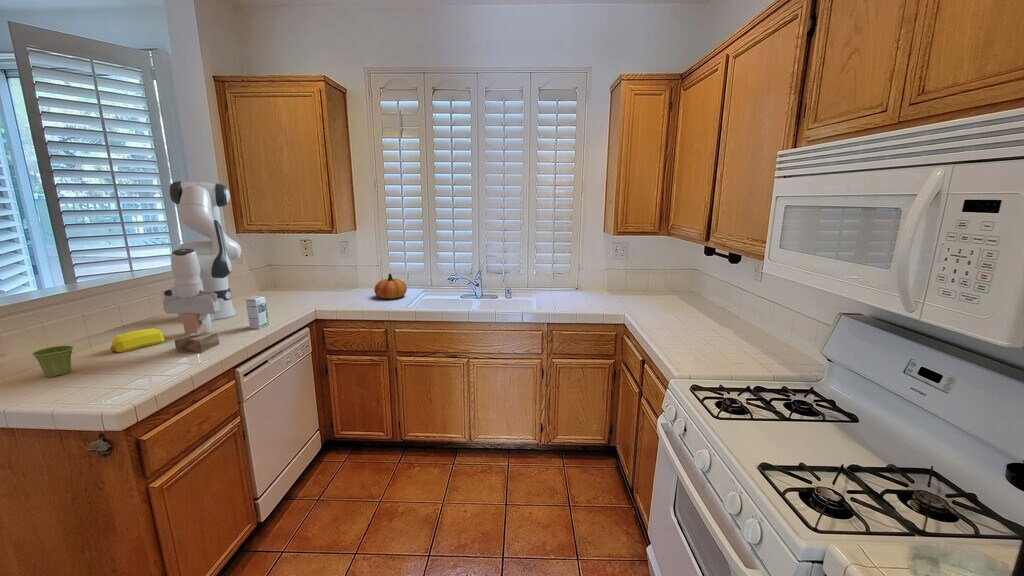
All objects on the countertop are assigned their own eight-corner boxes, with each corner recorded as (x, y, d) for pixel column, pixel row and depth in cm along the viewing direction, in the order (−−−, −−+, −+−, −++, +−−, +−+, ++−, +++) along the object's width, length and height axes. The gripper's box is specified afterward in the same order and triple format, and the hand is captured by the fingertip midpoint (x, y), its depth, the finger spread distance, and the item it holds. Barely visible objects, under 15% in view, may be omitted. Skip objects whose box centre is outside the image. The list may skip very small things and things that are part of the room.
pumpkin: (398, 292, 271) (396, 270, 268) (412, 297, 257) (411, 274, 254) (369, 296, 258) (368, 273, 255) (383, 302, 244) (382, 277, 241)
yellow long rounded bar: (170, 342, 174) (162, 339, 178) (168, 327, 173) (160, 324, 176) (114, 355, 159) (107, 351, 163) (111, 339, 157) (103, 335, 161)
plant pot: (57, 368, 146) (51, 345, 144) (85, 367, 147) (80, 345, 145) (29, 379, 137) (23, 355, 135) (60, 379, 138) (54, 354, 136)
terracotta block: (184, 333, 163) (181, 313, 161) (194, 329, 168) (191, 310, 166) (197, 333, 163) (194, 314, 161) (206, 329, 168) (203, 310, 166)
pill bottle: (216, 331, 188) (212, 299, 185) (198, 336, 181) (193, 303, 178) (204, 329, 191) (199, 298, 188) (186, 334, 183) (181, 302, 180)
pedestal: (176, 352, 162) (174, 339, 161) (195, 343, 172) (193, 331, 171) (201, 352, 162) (199, 340, 161) (219, 344, 172) (217, 332, 171)
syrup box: (259, 329, 192) (256, 299, 189) (249, 328, 193) (245, 298, 190) (269, 325, 198) (265, 296, 194) (258, 324, 199) (255, 295, 196)
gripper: (221, 289, 165) (225, 321, 168) (170, 288, 165) (176, 321, 168) (209, 292, 159) (214, 326, 162) (157, 291, 159) (163, 325, 162)
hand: (194, 323), depth 165 cm, fingers closed on terracotta block, 5 cm apart
